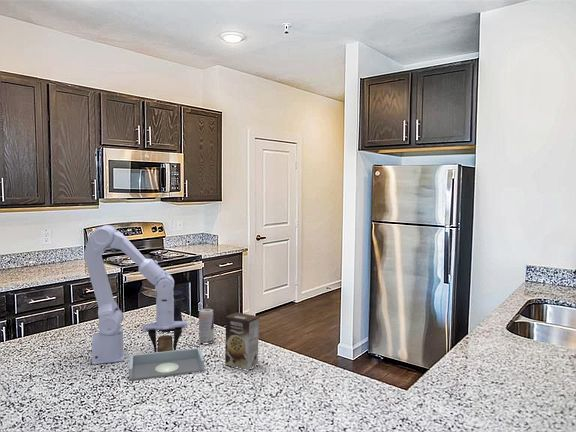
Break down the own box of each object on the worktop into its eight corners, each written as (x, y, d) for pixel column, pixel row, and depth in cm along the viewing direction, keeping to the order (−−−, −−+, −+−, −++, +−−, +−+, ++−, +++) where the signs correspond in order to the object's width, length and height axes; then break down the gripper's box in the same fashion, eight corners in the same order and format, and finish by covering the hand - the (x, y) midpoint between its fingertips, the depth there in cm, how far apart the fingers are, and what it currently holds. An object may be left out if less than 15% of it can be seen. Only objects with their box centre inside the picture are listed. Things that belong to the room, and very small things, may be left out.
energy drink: (215, 340, 156) (215, 308, 155) (211, 345, 150) (211, 312, 150) (201, 339, 156) (201, 308, 156) (196, 344, 151) (197, 312, 150)
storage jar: (155, 326, 171) (155, 290, 170) (179, 323, 175) (179, 288, 174) (158, 333, 162) (158, 296, 161) (184, 330, 166) (184, 294, 165)
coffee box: (224, 365, 133) (224, 316, 132) (235, 359, 138) (236, 311, 138) (248, 372, 128) (248, 320, 128) (259, 364, 134) (259, 315, 133)
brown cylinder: (157, 358, 138) (157, 340, 138) (157, 353, 142) (157, 336, 142) (172, 356, 139) (172, 339, 139) (171, 351, 144) (172, 334, 144)
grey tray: (129, 381, 121) (129, 369, 121) (130, 366, 131) (130, 355, 131) (204, 371, 128) (204, 360, 128) (199, 358, 138) (199, 347, 138)
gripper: (142, 315, 134) (142, 356, 135) (188, 312, 139) (188, 352, 139) (142, 310, 141) (142, 349, 141) (186, 306, 145) (186, 344, 146)
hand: (165, 350), depth 141 cm, fingers open, 6 cm apart
